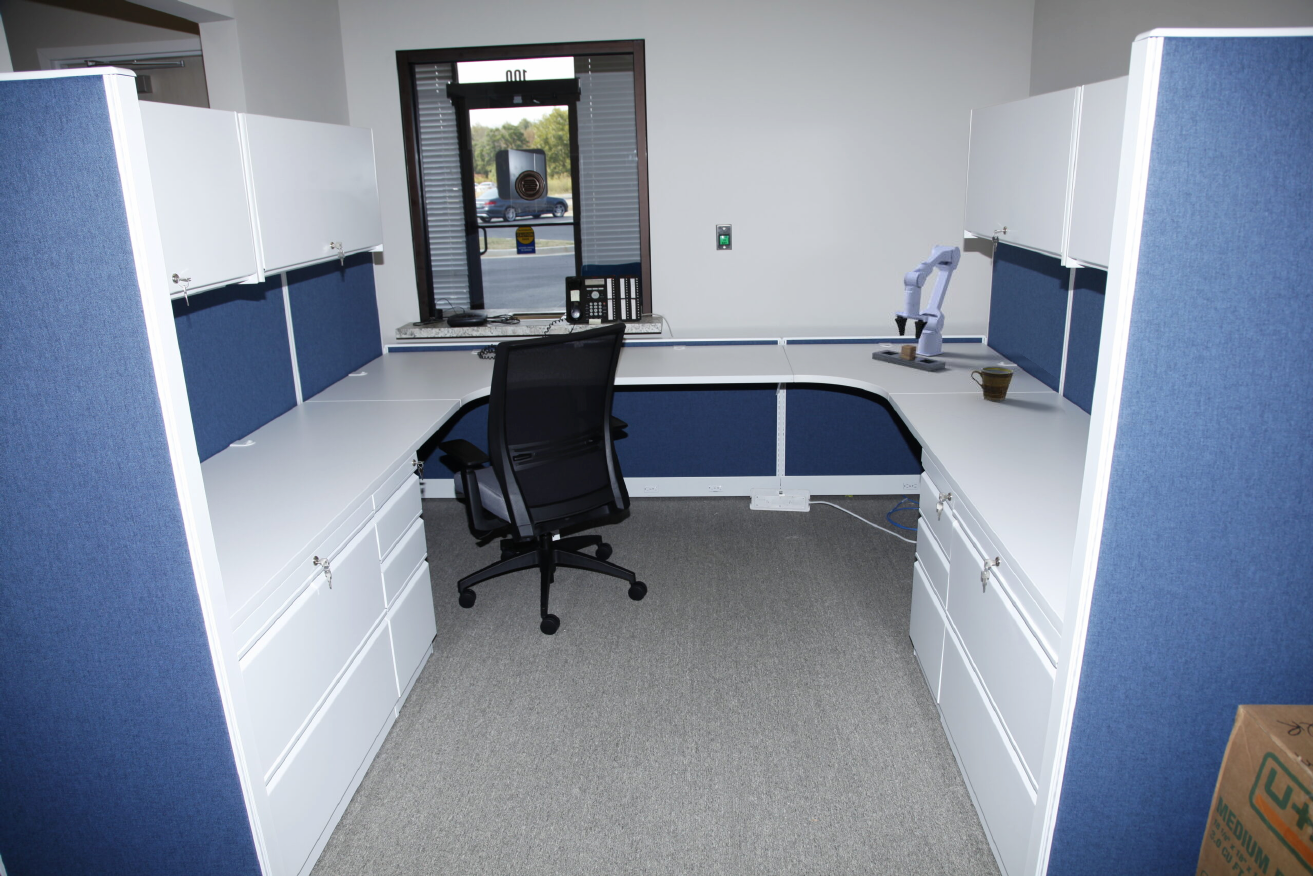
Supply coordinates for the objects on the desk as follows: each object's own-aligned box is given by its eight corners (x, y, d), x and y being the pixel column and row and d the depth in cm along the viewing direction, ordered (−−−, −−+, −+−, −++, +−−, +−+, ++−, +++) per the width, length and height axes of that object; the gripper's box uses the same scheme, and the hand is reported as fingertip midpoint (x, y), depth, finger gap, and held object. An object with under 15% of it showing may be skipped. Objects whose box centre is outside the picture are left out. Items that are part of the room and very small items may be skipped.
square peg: (906, 361, 335) (908, 344, 333) (914, 363, 332) (916, 346, 330) (900, 363, 333) (901, 345, 331) (908, 365, 330) (910, 347, 328)
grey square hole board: (886, 355, 346) (887, 349, 345) (945, 368, 324) (945, 362, 323) (872, 358, 341) (872, 352, 340) (930, 371, 319) (931, 365, 318)
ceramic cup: (1007, 395, 287) (1010, 367, 284) (1012, 403, 278) (1015, 374, 274) (966, 393, 290) (970, 365, 286) (970, 401, 280) (973, 372, 277)
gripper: (891, 301, 334) (888, 335, 338) (921, 306, 323) (918, 341, 327) (902, 299, 338) (899, 333, 342) (933, 304, 327) (929, 339, 331)
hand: (909, 337), depth 335 cm, fingers open, 7 cm apart
